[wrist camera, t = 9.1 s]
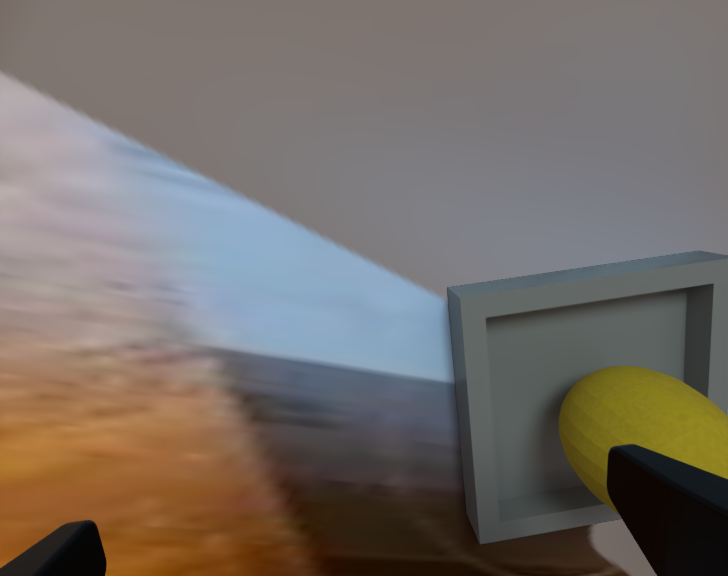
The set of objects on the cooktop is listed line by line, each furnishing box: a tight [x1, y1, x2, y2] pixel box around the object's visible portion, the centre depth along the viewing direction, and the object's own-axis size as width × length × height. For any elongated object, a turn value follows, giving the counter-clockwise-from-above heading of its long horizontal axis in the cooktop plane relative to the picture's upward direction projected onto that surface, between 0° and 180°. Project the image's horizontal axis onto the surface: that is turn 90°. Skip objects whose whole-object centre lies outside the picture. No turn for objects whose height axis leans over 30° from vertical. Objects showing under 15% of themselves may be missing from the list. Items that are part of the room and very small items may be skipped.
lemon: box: [559, 366, 728, 514], centre depth 17 cm, size 6×6×8 cm
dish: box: [447, 251, 728, 544], centre depth 21 cm, size 12×12×2 cm
